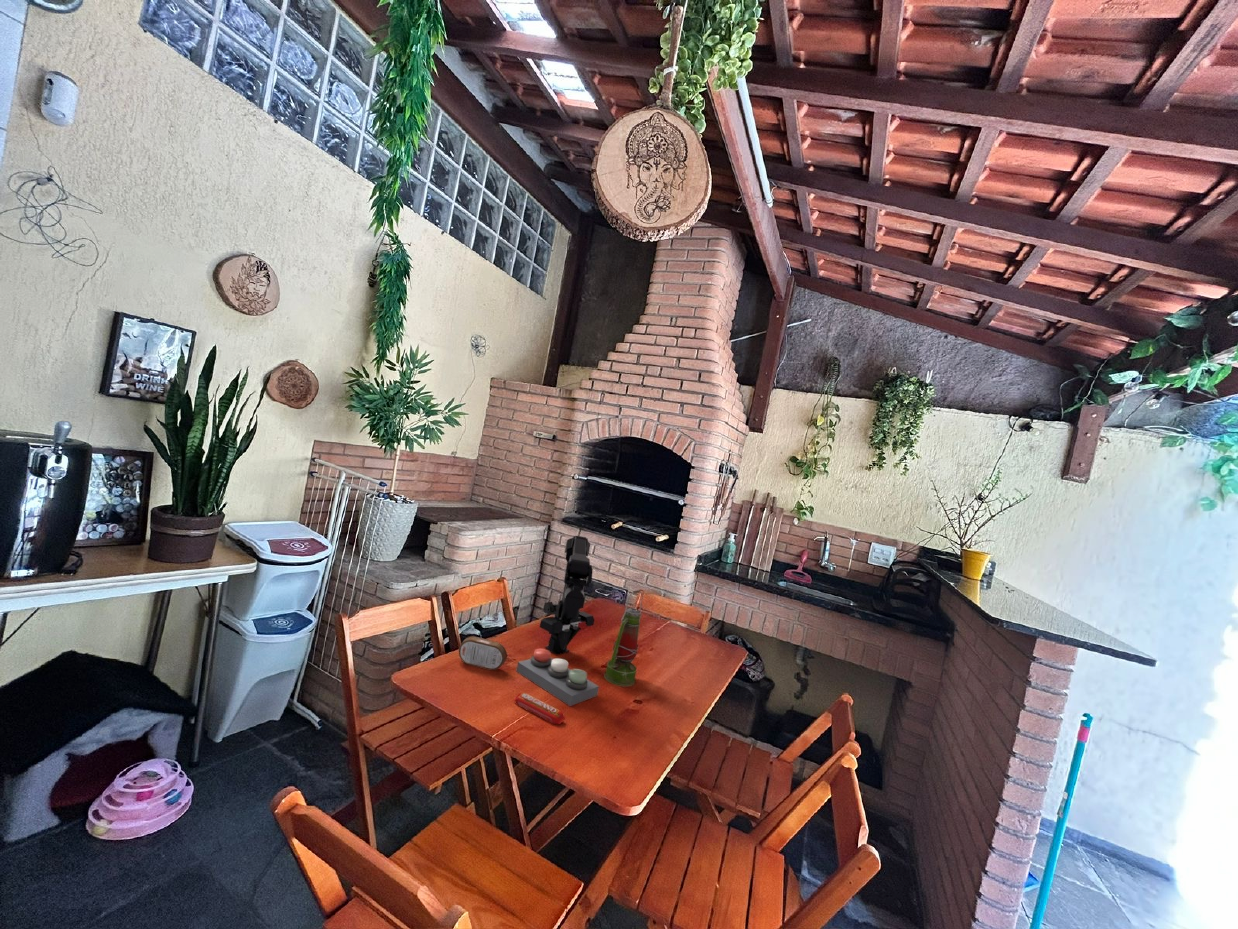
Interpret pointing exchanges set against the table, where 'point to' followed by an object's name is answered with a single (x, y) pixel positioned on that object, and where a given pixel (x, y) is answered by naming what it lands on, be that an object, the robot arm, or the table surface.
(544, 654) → the red button
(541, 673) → the button panel
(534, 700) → the candy bar
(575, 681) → the green button
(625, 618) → the lantern
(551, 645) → the robot arm
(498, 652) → the tin
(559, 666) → the white button
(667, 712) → the table surface
